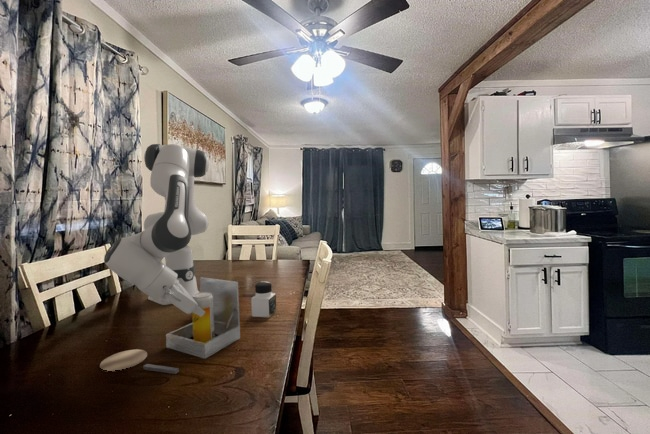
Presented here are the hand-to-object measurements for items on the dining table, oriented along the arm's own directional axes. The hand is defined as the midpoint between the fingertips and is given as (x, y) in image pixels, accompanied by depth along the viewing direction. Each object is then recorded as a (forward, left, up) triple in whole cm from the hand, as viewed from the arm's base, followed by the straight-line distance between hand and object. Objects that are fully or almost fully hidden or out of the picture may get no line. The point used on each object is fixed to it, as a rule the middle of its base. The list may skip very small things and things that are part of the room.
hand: (199, 309), depth 95 cm
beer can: (0, +1, -11) cm, 11 cm away
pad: (-12, -16, -11) cm, 22 cm away
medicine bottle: (+2, +28, -11) cm, 30 cm away
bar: (+2, -15, -11) cm, 19 cm away
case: (0, +1, -11) cm, 11 cm away
